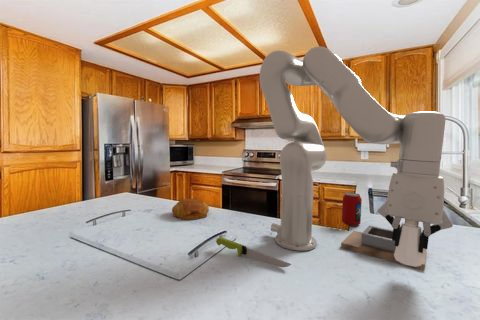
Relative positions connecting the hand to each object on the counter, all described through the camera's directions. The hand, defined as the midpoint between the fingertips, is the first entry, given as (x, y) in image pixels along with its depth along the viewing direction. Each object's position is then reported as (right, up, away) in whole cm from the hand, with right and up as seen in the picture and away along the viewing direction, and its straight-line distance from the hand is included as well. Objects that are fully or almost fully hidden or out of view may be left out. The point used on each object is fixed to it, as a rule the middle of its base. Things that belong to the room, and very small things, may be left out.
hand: (408, 246), depth 55 cm
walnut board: (+4, -7, +16) cm, 18 cm away
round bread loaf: (-60, -4, +47) cm, 76 cm away
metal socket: (+4, -5, +16) cm, 18 cm away
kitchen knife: (-36, -7, +9) cm, 38 cm away
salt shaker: (0, -3, 0) cm, 4 cm away
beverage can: (+5, -6, +40) cm, 41 cm away
